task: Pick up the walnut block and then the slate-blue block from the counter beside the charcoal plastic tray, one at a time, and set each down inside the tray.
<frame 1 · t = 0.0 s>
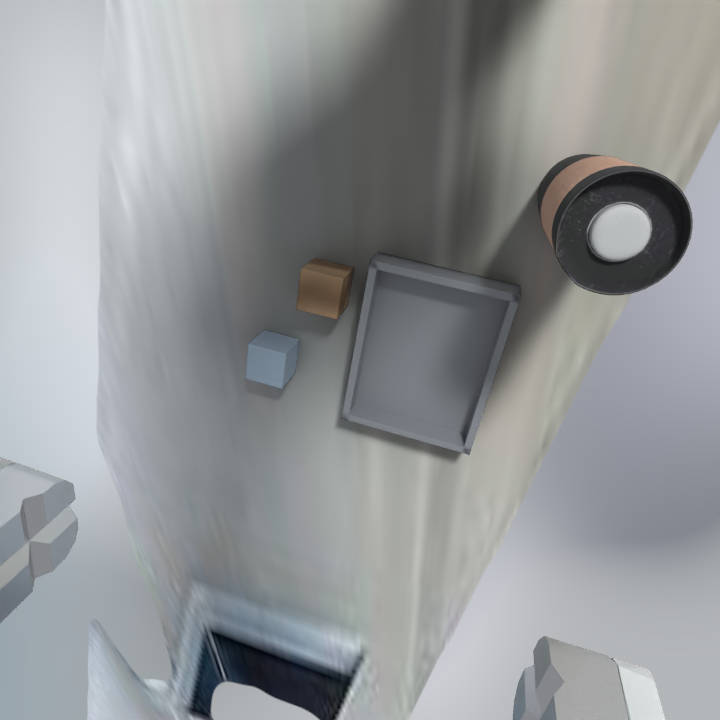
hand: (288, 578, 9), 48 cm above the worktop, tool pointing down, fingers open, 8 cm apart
slate block: (280, 351, 63), on the worktop
travel mug: (577, 194, 49), on the worktop
charcoal tray: (426, 350, 58), on the worktop
walnut block: (331, 282, 58), on the worktop
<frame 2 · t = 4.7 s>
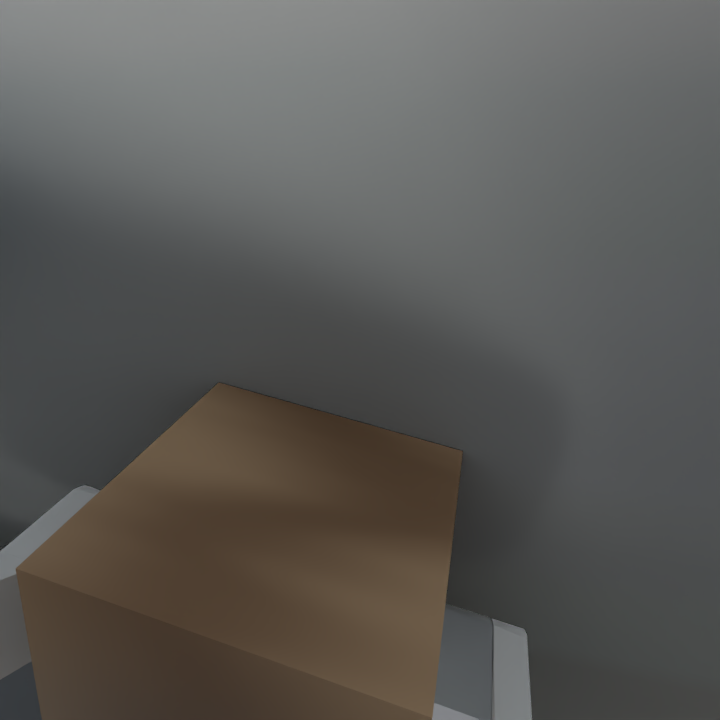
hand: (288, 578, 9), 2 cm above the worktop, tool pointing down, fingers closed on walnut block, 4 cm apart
walnut block: (319, 512, 10), on the worktop, touching gripper
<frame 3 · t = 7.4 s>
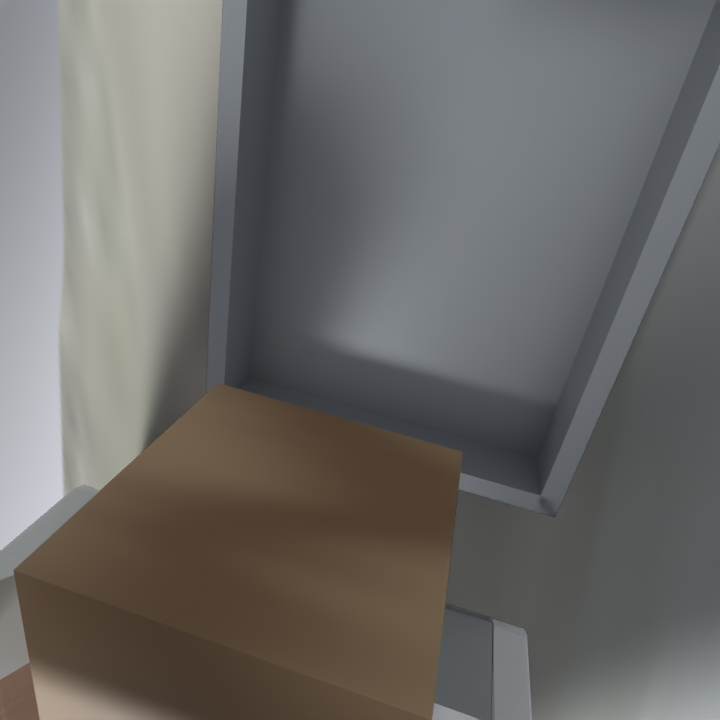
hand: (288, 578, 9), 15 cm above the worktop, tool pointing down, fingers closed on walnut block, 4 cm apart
travel mug: (191, 508, 31), on the worktop
charcoal tray: (433, 219, 21), on the worktop
walnut block: (319, 513, 10), point 13 cm above the worktop, touching gripper
when the fingers open (4 cm above the worktop, at t = 9.9 s): walnut block drops 1 cm, resting on charcoal tray.
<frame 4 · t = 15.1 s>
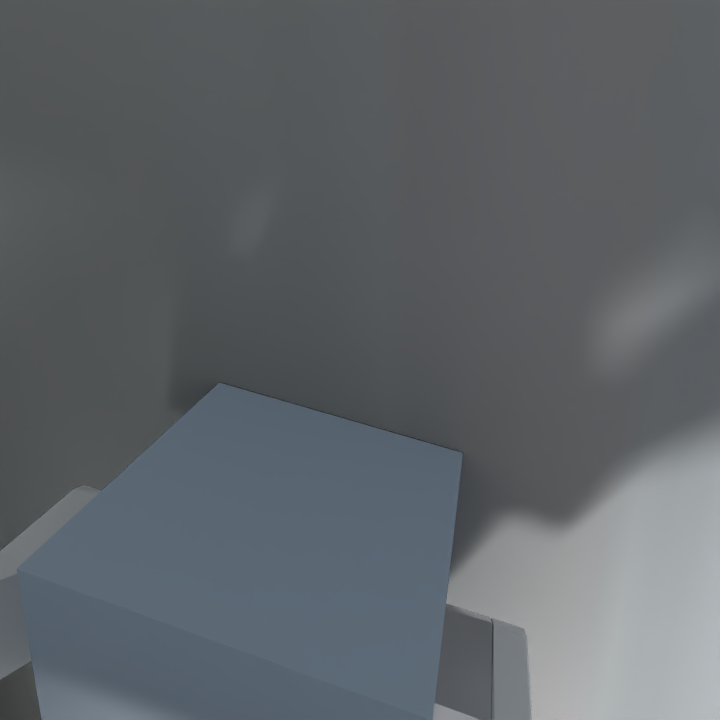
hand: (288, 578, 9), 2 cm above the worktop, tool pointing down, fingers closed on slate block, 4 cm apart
slate block: (319, 512, 10), on the worktop, touching gripper
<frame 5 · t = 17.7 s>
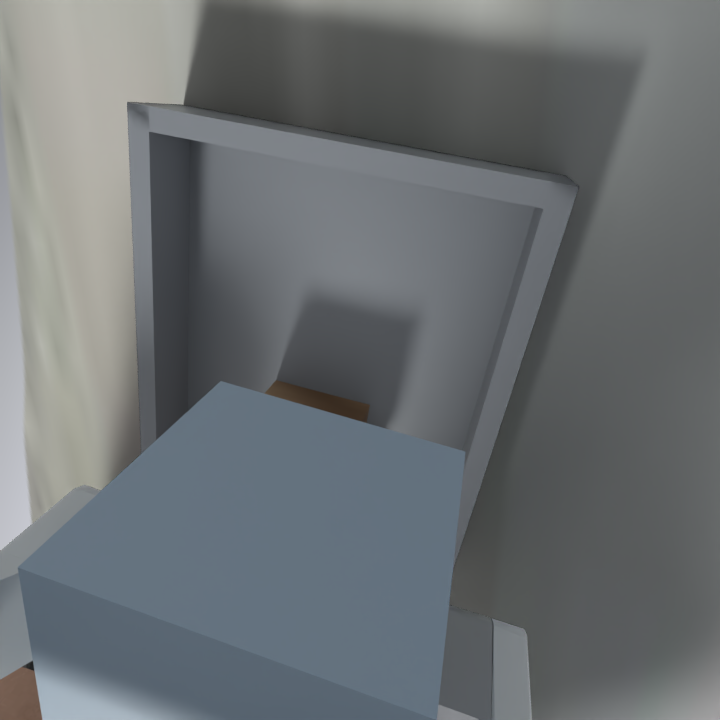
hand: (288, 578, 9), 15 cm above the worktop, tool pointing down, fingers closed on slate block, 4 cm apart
slate block: (320, 511, 10), point 13 cm above the worktop, touching gripper
travel mug: (148, 580, 34), on the worktop
charcoal tray: (331, 360, 24), on the worktop
walnut block: (316, 433, 25), point 1 cm above the worktop, touching charcoal tray
when the fingers open (4 cm above the worktop, at t = 20.6 s): slate block drops 1 cm, resting on charcoal tray.
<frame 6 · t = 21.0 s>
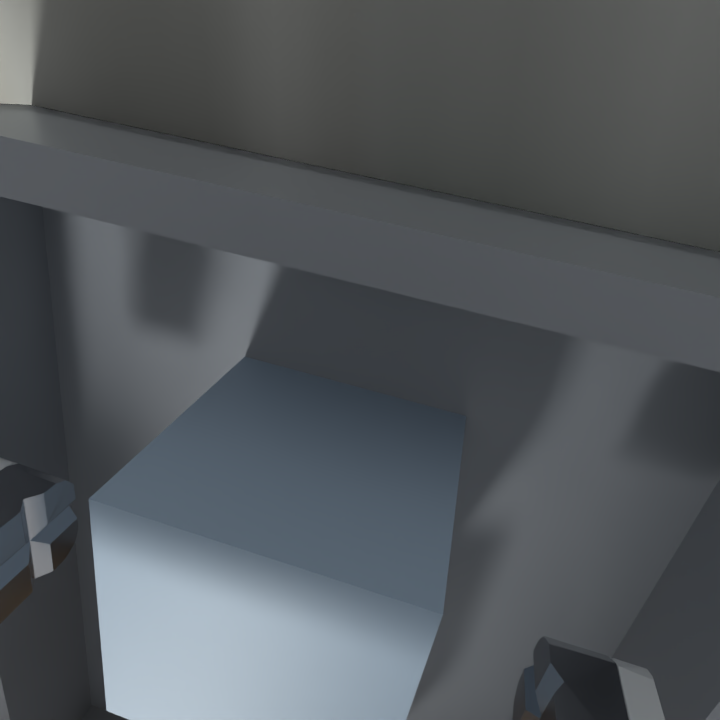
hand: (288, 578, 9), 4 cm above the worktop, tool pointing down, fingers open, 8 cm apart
slate block: (335, 476, 11), point 1 cm above the worktop, touching charcoal tray
charcoal tray: (324, 565, 13), on the worktop
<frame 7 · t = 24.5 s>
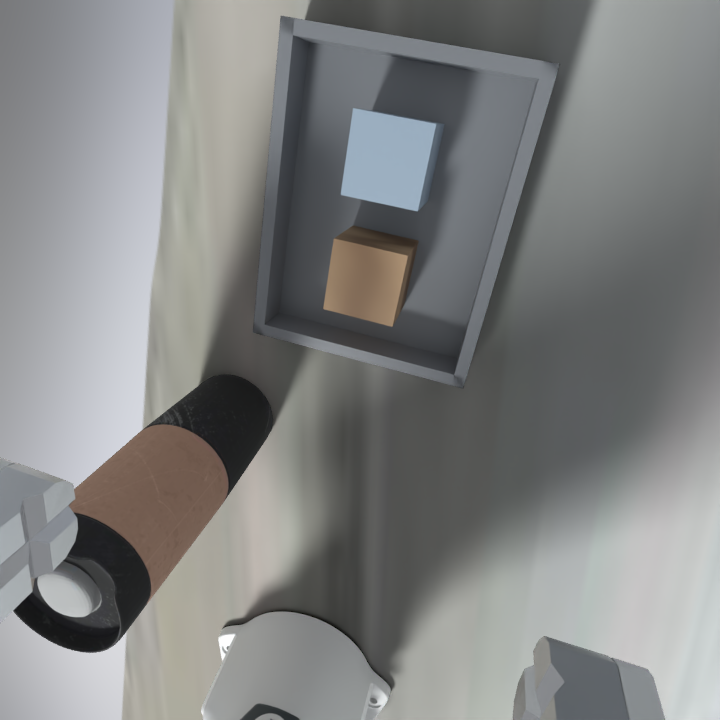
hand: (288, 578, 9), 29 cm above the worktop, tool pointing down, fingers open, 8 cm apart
slate block: (400, 156, 32), point 1 cm above the worktop, touching charcoal tray
travel mug: (235, 410, 45), on the worktop
charcoal tray: (391, 211, 35), on the worktop
walnut block: (379, 265, 36), point 1 cm above the worktop, touching charcoal tray
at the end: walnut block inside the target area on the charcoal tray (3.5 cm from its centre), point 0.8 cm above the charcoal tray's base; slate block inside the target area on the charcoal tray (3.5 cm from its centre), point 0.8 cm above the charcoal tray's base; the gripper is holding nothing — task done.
